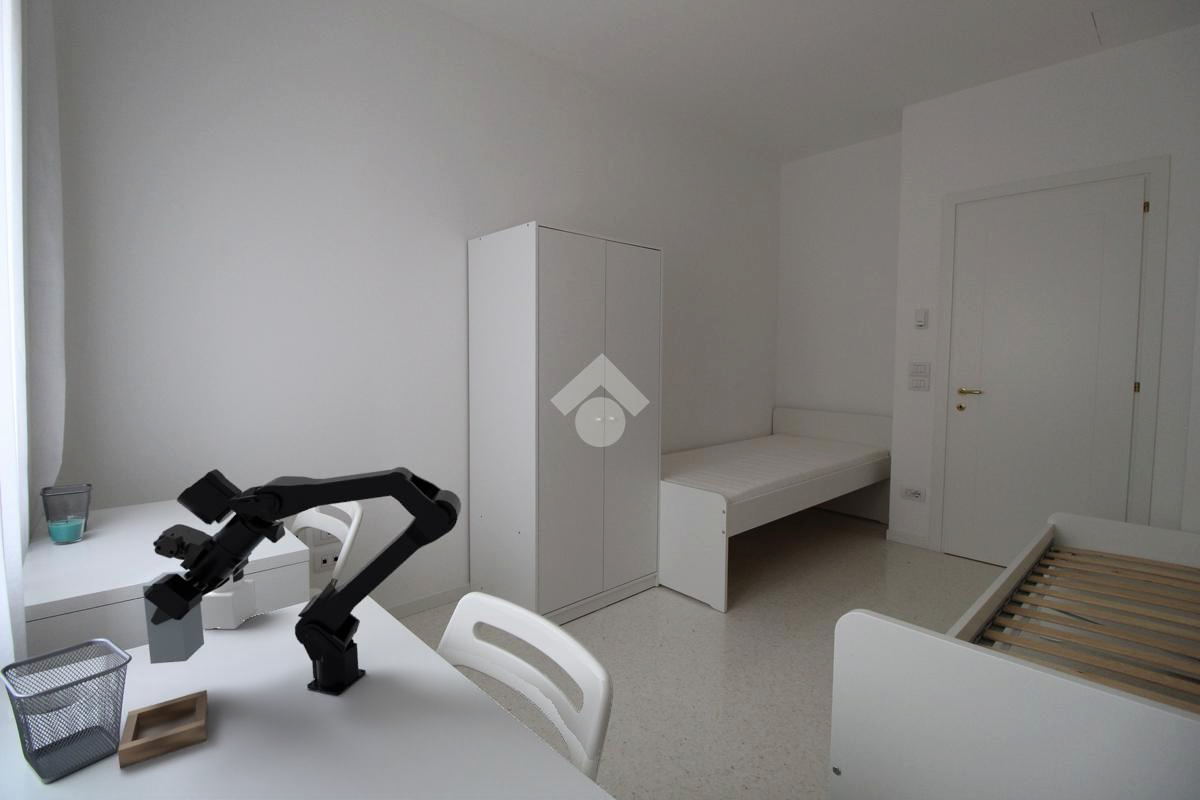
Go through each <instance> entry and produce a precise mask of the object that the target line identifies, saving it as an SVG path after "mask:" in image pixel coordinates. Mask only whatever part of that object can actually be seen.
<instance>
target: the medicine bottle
mask: <svg viewBox="0 0 1200 800" xmlns="http://www.w3.org/2000/svg"><path fill="white" fill-rule="evenodd" d="M229 577H230V580H229V581H228V582H226V583H225V584H224V585H223V586H221V587H219V588H217V589H215V590H214V591H212V592H210V593H208V594H206V595H204V596H202V601H201V602H200V604H201V615H202V626H203V630H214V629H213V628H217V627H220V628H218V629H217V630H236V629H237V628H238V627H240V626H241V625H243V624H244V623H245V622H246V621H247V620H246V619H248V620H249V619H250V618H251V617H253V616H255V615H256V614H257V613H258V602H257V592H256V581H255V579H245V573H244V568H243V569H242V570H241V571H240V572H239V573H238V574H236V575H235V576H232V575H230V576H229ZM243 620H246V621H243Z"/></svg>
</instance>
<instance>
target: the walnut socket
mask: <svg viewBox="0 0 1200 800" xmlns="http://www.w3.org/2000/svg"><path fill="white" fill-rule="evenodd" d="M208 711H209V699H208V690H207V689H204V690H200V691H197V692H193V693H191V694H190V693H189V694H186V695H183V696H180V697H175V698H173V699H169V700H166V701H162V702H159V703H155V704H150V705H148V706H144V707H141V708H138V709H133V710H129V711H128V712H127V716H126V719H125V723H124V728H123V730H122V734H121V738H120V742H119V745H118V749H117V756H118V763H119V764H118V765H119V769H122V768H126V767H128V766H132V765H135V764H138V763H141V762H144V761H147V760H151V759H153V758H157V757H159V756H162V755H165V754H169V753H173V752H174V751H177V750H181V749H185V748H187V747H191V746H194V745H197V744H199V743H202V742H206V741H207V734H208V733H207V732H208V714H209V712H208Z"/></svg>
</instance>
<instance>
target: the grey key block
mask: <svg viewBox="0 0 1200 800" xmlns="http://www.w3.org/2000/svg"><path fill="white" fill-rule="evenodd" d="M188 571H189V570H183V571H182V570H180V571H167V572H166V571H165V572H162V573H161V574H159V575H157V576H155V577H154V578H153V579H151V580H150V581H148V582H146V583H145V584H144V585H142V592H143V602H144V612H145V621H146V622H145V623H146V630H147V639H148V640H147V641H148V651H149V660H150V664H151V665H152V664H153V665H154V664H155V665H156V664H164V663H165V664H166V663H178V662H179V663H180V662H187V661H188V660H189V659H190V658H191V657H192V656H193V655H194V654H195V653H196V652H197V651H199V650H200V648H202V647H203V646H204V645H205V639H204V637H205V636H204V629H203V626H202V615H201V604H200V603H199V605H198V606H197V607H196V608H194V609H193V610H192V611H191V612H190V613H189V614H187V615H186V616H185V617H184V618H183V619H181V620H174V619H173V618H172V619H170V620H168V621H165V622H163V623H161V624H158V625H154V624H153V623H152V622H151V619H152V617H153V615H154V613H155V611H156V609H157V606H156V605H154V604H153V603H152V602H150V601H149V600H148V599H146V598H145V596H144V593H145V592H146V591H147V590H148V588H149V587H150V586H151V585H152V584H153V583H155V582H157V581H158V580H160V579H161V578H163V577H164V576H166V575H167V574H179V575H180V576H181V577H183V575H184V574H185V573H187V572H188ZM183 578H184V577H183ZM184 579H185V578H184ZM190 579H191V578H190ZM190 579H189V580H190ZM185 580H186V581H188V580H187V579H185ZM198 584H199V583H198ZM198 584H196V585H195V586H197V585H198ZM195 586H194V587H195Z"/></svg>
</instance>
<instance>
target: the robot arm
mask: <svg viewBox="0 0 1200 800" xmlns="http://www.w3.org/2000/svg"><path fill="white" fill-rule="evenodd" d="M384 497H393V498H394V499H395V500H397V502H399V503H400V505H401V506H402V507H403V508H404V509H405V510H406V511H407V512H408V513H409V514H410V515H411V516H413V518H412V519H411V521H410V522H409V524H408V525H407V526H406V528H404V529H403V530H402V531H401V532H399V534H398V535H397V536H395V537H394V538H393V539H392V540H391V541H390V542H389V543H388V544H387V545H386V546H384V547H383V548H382V549H381V550H380V551H379V552H378V553H377V554H375V556H373V557H372V558H371V559H370V560H369V561H368V562H367V563H365V564H364V565H363V566H362V567H361V568H360V569H359V570H358V571H357V572H355V574H354V575H352V576H351V577H350V578H349V579H348V580H347V581H346V582H344V583H343V584H341V585H338V586H336V587H335V586H334V584H332V582H331V581H329V582H328V584H326V586H325V588H324V589H322V591H321V592H319V593H318V594H315V595H313V596H312V597H311V598H310V600H309V601H308V602H307V604H306V605H305V606H304V607H303V608H302V610H301V611H300V612H299V614H298V618H299V620H298V621H297V622H296V624H295V626H294V635H295V638H296V640H297V641H298V643H300V644H301V645H303V648H304V650H305V651H306V652H305V653H306V654H307V655H308V658H309V659H310V661H311V663H312V665H311V666H312V667H311V668H312V677H313V680H311V681H310V682H309V683H308V684H307V685H306V687H307V689H308V690H313V691H317V692H321V693H326V694H330V695H334V696H339V695H341V694H342V693H344V692H345V691H346V690H347V689H349V688H350V687H351V686H352V685H353V684H355V683H356V682H357V681H359V680H360V679H361V678H362V677H363V676H365V675H366V674H367V673H366V672H367V670H365V669H361V668H359V653H358V643H356V642H355V640H354V639H353V638H354V636H355V634H356V633H357V631H358V629H359V626H360V623H361V621H360V619H359V618H357V617H356V616H355V615H354V614H352V611H353V610H354V609H355V607H356V606H358V605H359V604H360V603H361V602H362V601H363V600H364V599H365V598H367V596H368V595H370V594H371V593H372V592H373V591H374V590H375V589H376V588H378V586H380V585H381V584H382V583H383V582H384V581H386V579H387V578H388V577H390V576H391V575H392V574H393V573H394V572H395V571H396V570H397V569H398V568H399V567H401V566H402V565H403V564H404V562H406V561H407V560H408V559H409V558H410V557H411V556H412V555H414V554H415V553H416V551H418V550H419V549H421V548H423V547H425V546H427V545H429V544H432V543H434V542H436V541H437V540H439V539H441V538H442V537H444V536H446V535H447V534H448V533H450V531H452V530H453V529H454V527H455V526H456V524H457V522H458V518H459V517H460V514H461V512H462V511H461V510H462V503H461V499H460V498H459V496H458V495H457V494H456V493H454V491H450V490H448V489H442V488H440V487H439V486H438V485H436V484H435V483H433V482H431V481H429V480H426V479H425V478H422V477H420V476H419V475H417V474H415V473H414V472H412V471H411V470H409V469H408V468H407V467H404V466H397V467H394V468H391V469H385V470H377V471H371V472H364V473H362V472H361V473H357V474H355V473H354V474H349V475H343V476H342V475H341V476H340V475H339V476H333V477H328V478H327V477H326V478H313V477H308V476H300V475H299V476H295V475H293V476H292V475H287V476H286V475H284V476H283V475H282V476H278V477H275V478H274V479H272V480H270V481H268V482H267V483H265V484H262V485H256V486H251V487H249V488H247V489H245V490H244V491H242V490H241V489H240V488H239V487H238V486H236V485H235V484H234V483H232V482H231V481H230V480H229V479H228V478H226V477H225V475H224V474H223V473H222V472H221V471H220V470H218V469H217V468H214V469H212V470H210V471H208V472H207V473H206V474H205V475H203V477H201V478H200V479H198V480H196V482H194V483H192V485H190V486H189V487H187V488H185V489H184V490H183V491H182V492H181V493H180V494H179V495H178V497H177V499H176V502H177V503H179V504H180V505H182V507H184V508H185V509H186V510H187V511H189V512H190V513H192V515H194V516H195V517H197V519H199V520H200V521H202V522H203V523H204V524H205V525H207V526H208V525H209V526H211V525H213V523H216V524H218V525H220V524H222V523H223V522H225V520H227V519H228V518H230V516H231V515H232V514H233V513H235V514H234V515H233V516H232V517H231V518H230V519H229V520H228V521H227V522H226V523H225V525H224V526H223V527H222V528H221V529H220V530H219V531H217V532H215V533H214V535H213V536H212V535H210V534H208V533H206V532H205V531H202V530H200V529H197V528H194V527H192V526H189V525H186V524H182V523H181V524H180V523H179V524H178V523H177V524H175V525H173V526H170V527H168V528H166V529H165V530H163V531H162V533H161V534H160V535H159V536H158V538H157V539H156V540H155V541H153V543H152V545H153V546H154V553H155V554H156V555H159V556H161V557H165V558H167V559H173V558H174V559H177V560H180V561H181V563H180V564H179V566H180V567H181V568H183V569H184V571H188V572H187V573H185V574H184V575H183V577H184V578H185V579H187V580H188V581H186V580H185V579H184V578H183V577H181V576H180V575H179V574H167V575H166V576H164V577H163V578H161V579H160V580H158V581H157V582H155V583H153V584H152V585H151V586H150V587H149V588H148V590H147V591H146V592H145V593H144V594H143V597H144V596H145V598H146V599H148V600H149V601H150V602H152V603H153V604H154V605H156V606H157V609H156V611H155V613H154V615H153V617H152V619H151V622H152V623H153V624H154V625H158V624H161V623H163V622H165V621H168V620H170V619H172V618H173V619H174V620H181V619H183V618H184V617H185V616H186V615H187V614H189V613H190V612H191V611H192V610H193V609H194V608H196V607H197V606H198V605H199V603H200V602H201V601H202V596H204V595H206V594H208V593H210V592H212V591H214V590H215V589H217V588H219V587H221V586H223V585H224V584H225V583H226V582H228V581H229V580H230V577H229V576H230V575H232V576H235V575H236V574H238V573H239V572H240V571H241V570H242V569H243V570H244V569H245V567H246V566H247V565H248V564H249V563H250V562H249V557H250V555H252V554H253V553H252V552H254V550H255V549H256V548H257V547H258V546H259V545H260V544H261V543H262V542H263V541H264V540H265V539H267V540H269V541H270V542H271V543H272V544H276V543H278V542H279V541H280V540H281V539H282V538H283V537H285V536H286V529H285V527H284V526H285V525H284V524H285V521H283V519H285V518H289V517H292V516H296V515H298V514H300V513H302V512H305V511H308V510H310V509H313V508H317V507H321V506H327V505H334V504H336V505H337V504H343V503H350V502H356V501H357V502H358V501H363V500H371V499H377V498H384ZM280 520H281V521H280ZM190 578H191V579H190ZM189 579H190V580H189ZM198 583H199V584H198ZM196 584H198V585H197V586H195V585H196ZM194 586H195V587H194Z"/></svg>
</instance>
